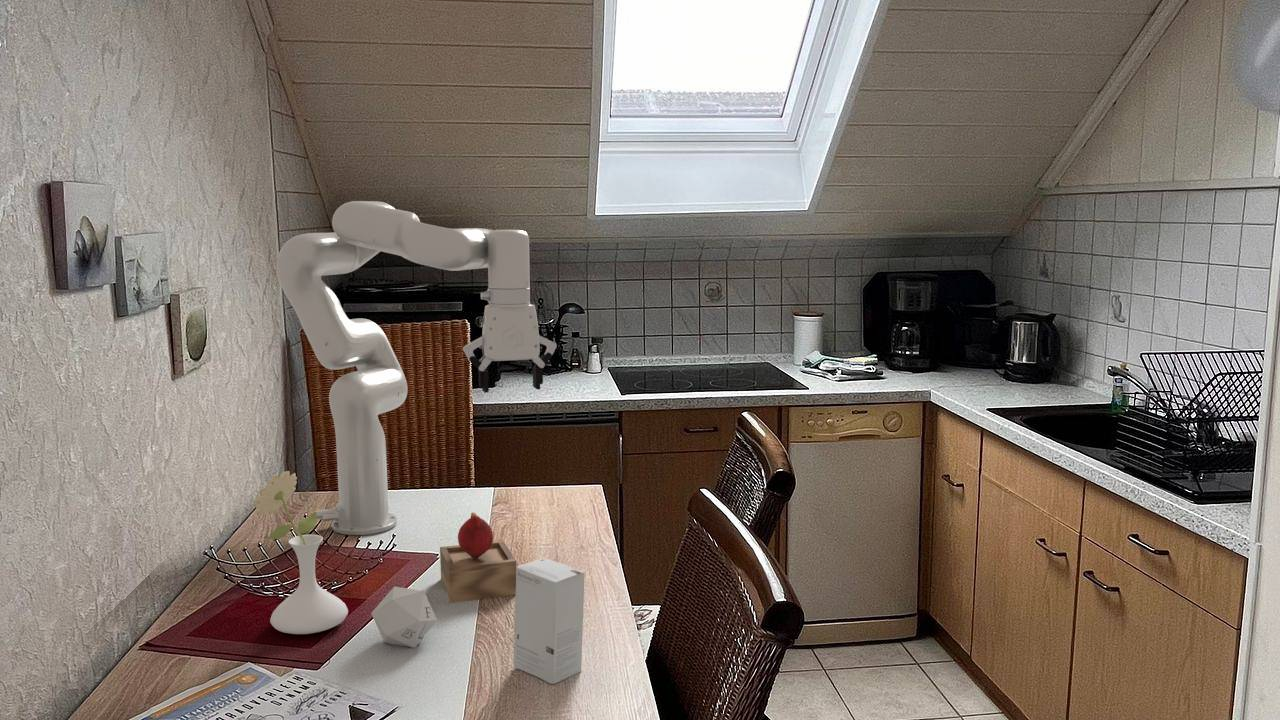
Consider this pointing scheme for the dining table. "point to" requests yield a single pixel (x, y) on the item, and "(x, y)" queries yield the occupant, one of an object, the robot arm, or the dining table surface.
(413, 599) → the die
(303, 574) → the flower in vase
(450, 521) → the dining table surface
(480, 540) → the onion
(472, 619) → the dining table surface
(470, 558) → the walnut box
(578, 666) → the skincare box
